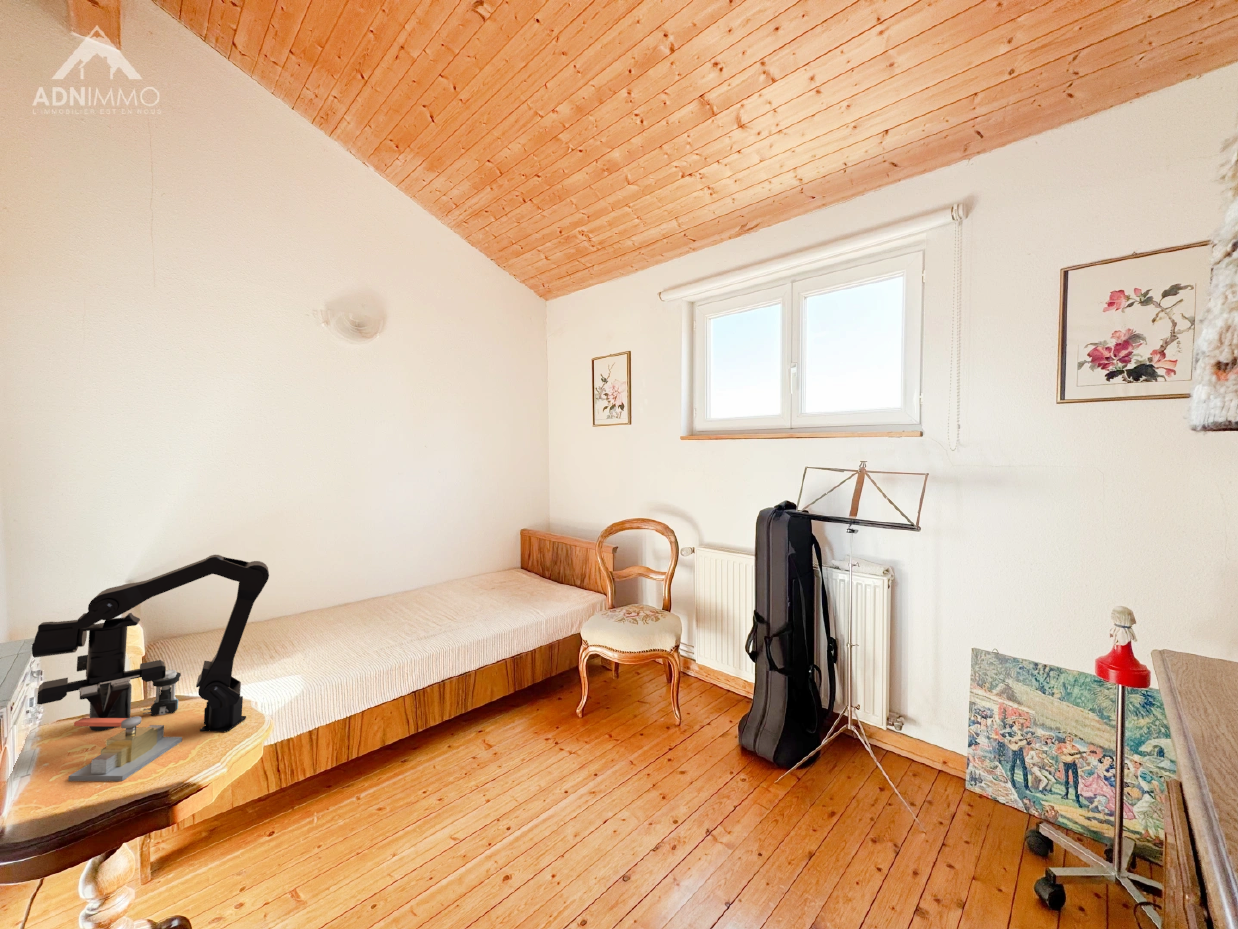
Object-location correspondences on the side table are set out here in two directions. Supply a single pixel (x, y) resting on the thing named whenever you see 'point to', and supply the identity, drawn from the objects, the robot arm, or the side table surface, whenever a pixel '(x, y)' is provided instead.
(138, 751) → the valve
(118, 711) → the supplement bottle
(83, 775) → the board
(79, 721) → the lever
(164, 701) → the push button
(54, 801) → the side table surface
